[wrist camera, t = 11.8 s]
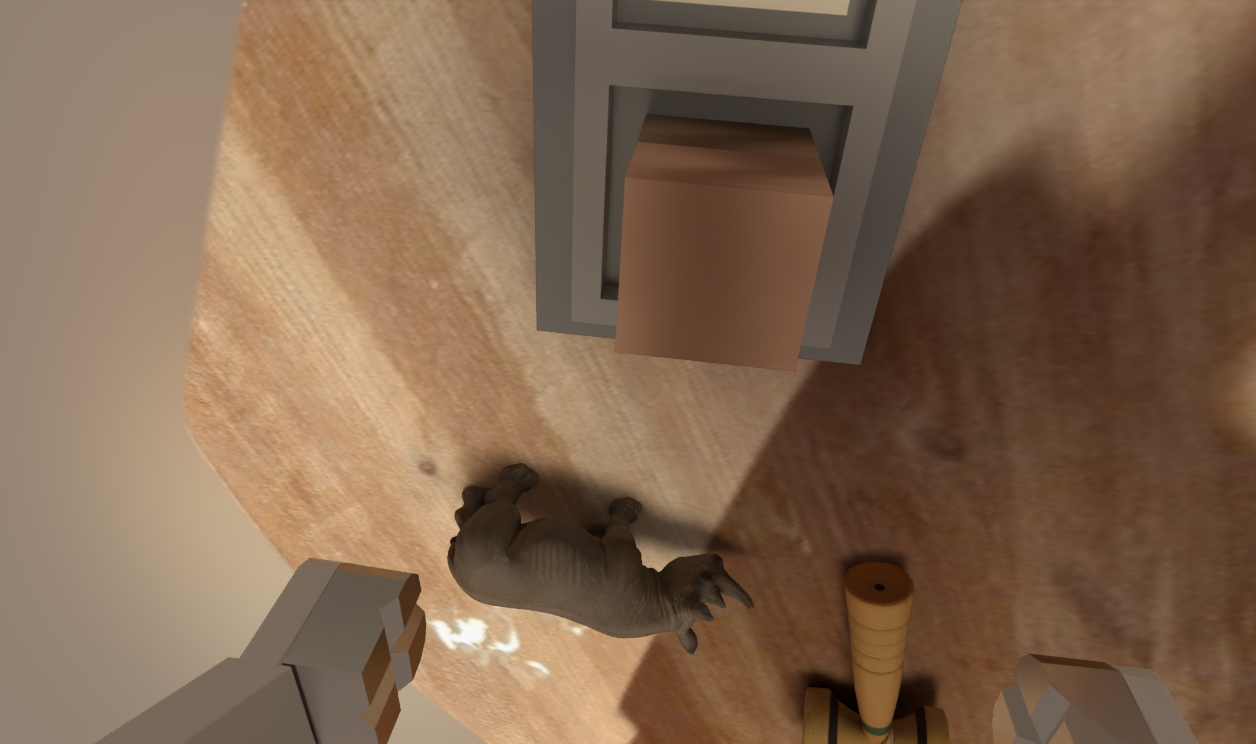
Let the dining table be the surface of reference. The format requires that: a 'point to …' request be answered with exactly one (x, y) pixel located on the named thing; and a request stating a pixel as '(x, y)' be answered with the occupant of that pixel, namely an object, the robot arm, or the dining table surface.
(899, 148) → the base plate
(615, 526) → the rhino figurine
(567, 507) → the dining table surface
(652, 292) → the brown block
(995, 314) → the dining table surface
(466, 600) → the dining table surface
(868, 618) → the kendama
